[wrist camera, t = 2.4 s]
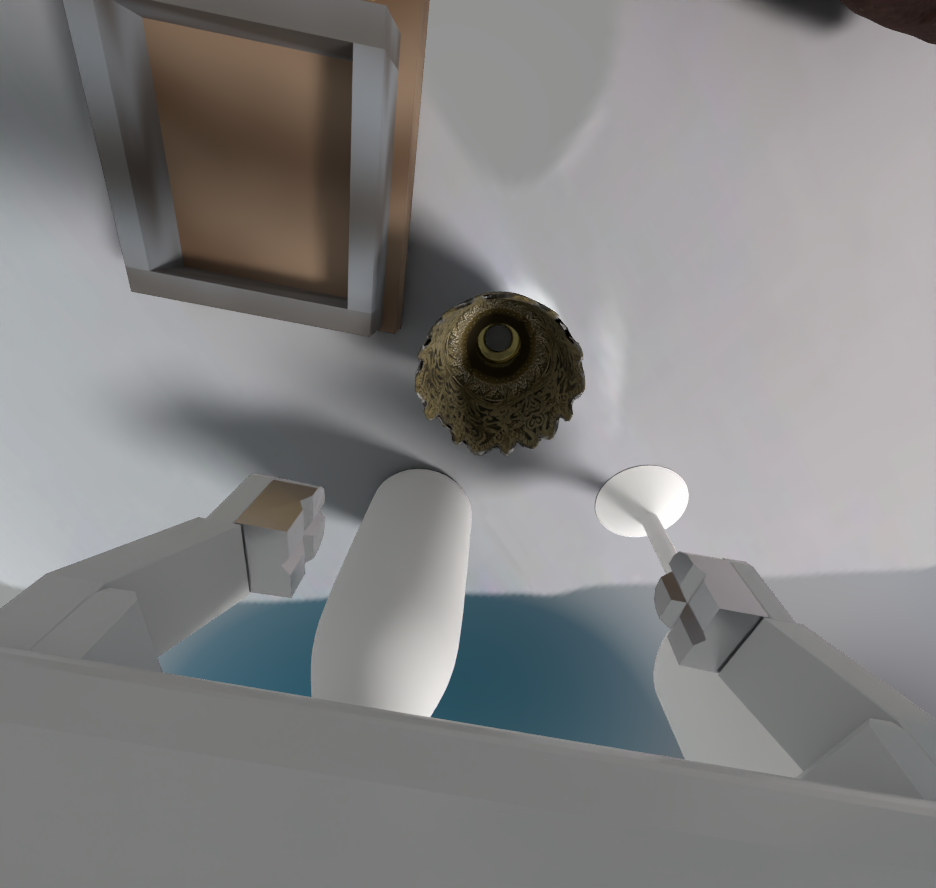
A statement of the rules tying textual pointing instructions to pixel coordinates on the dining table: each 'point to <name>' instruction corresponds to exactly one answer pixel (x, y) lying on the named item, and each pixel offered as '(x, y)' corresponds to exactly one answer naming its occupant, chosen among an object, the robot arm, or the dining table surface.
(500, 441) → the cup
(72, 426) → the dining table surface
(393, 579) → the milk bottle
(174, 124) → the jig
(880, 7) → the rock
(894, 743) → the robot arm
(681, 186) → the dining table surface
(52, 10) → the dining table surface
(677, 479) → the champagne flute
